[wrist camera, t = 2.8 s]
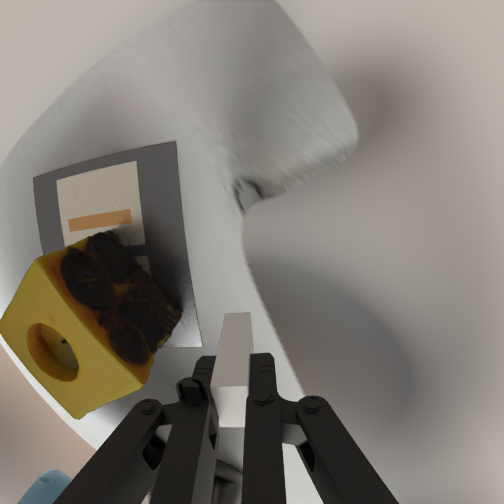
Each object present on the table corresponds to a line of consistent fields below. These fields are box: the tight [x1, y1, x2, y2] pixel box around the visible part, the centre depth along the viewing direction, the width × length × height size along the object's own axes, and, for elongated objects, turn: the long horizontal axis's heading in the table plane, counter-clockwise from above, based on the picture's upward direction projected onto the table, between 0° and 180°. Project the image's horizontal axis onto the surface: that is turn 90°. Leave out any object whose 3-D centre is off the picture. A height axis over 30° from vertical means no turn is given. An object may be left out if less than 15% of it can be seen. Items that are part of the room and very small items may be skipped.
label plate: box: [33, 142, 202, 347], centre depth 23 cm, size 18×16×1 cm
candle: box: [0, 230, 182, 420], centre depth 19 cm, size 10×10×10 cm
